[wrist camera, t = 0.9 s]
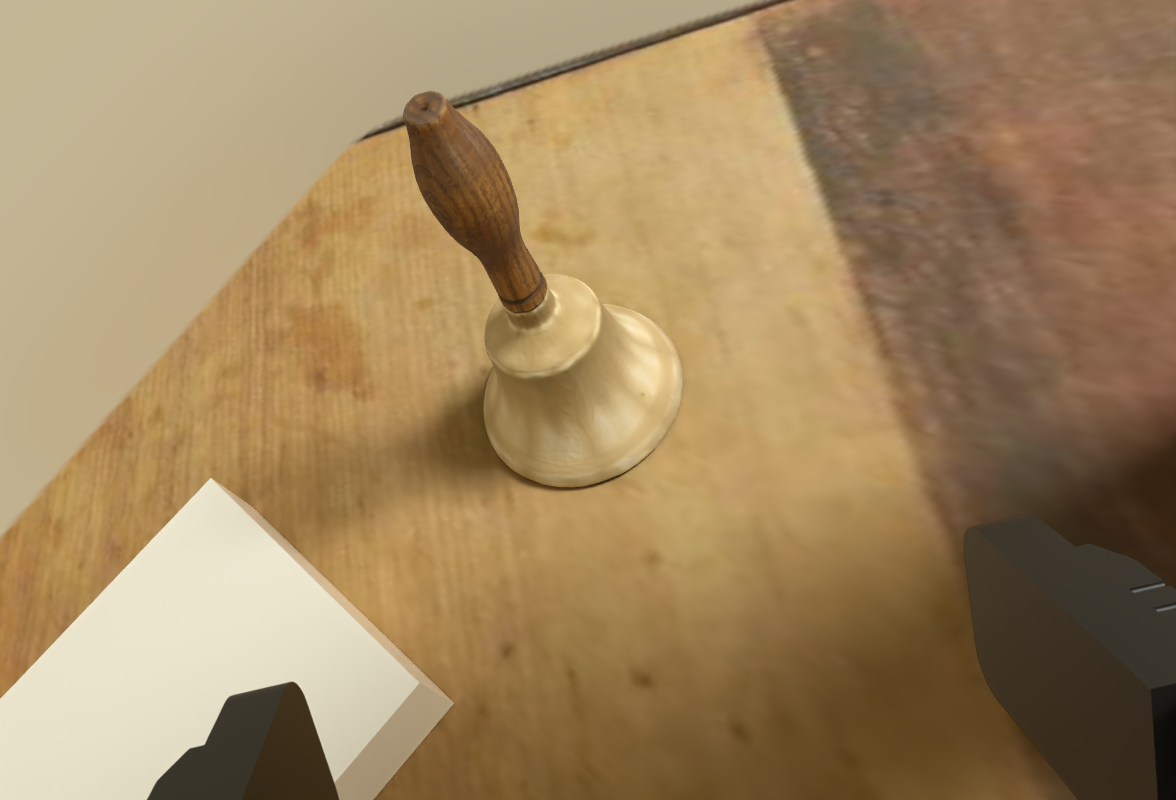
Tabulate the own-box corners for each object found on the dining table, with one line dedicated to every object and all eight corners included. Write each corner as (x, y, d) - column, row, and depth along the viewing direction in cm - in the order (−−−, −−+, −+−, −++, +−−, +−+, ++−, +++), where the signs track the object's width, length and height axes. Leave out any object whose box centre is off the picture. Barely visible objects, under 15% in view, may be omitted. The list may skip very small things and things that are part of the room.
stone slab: (252, 506, 43) (210, 477, 41) (454, 703, 37) (419, 682, 34) (-42, 821, 40) (-106, 811, 37) (123, 1098, 33) (57, 1108, 31)
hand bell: (497, 316, 44) (312, 31, 31) (686, 298, 42) (576, -19, 29) (473, 493, 40) (250, 254, 27) (680, 484, 38) (549, 218, 25)
